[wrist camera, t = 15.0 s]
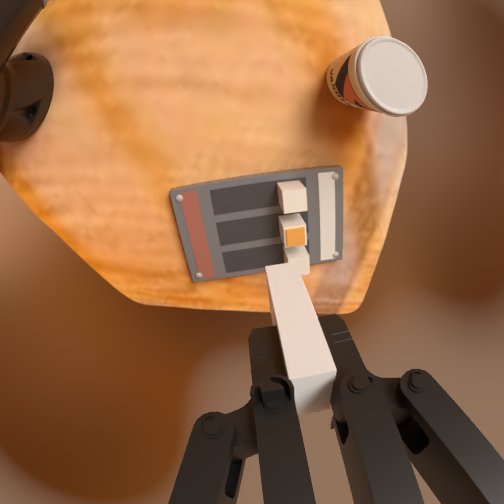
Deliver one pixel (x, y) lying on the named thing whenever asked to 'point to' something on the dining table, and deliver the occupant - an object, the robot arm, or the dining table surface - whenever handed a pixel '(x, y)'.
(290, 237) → the breaker toggle
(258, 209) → the breaker panel
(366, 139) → the dining table surface
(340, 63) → the coffee cup
